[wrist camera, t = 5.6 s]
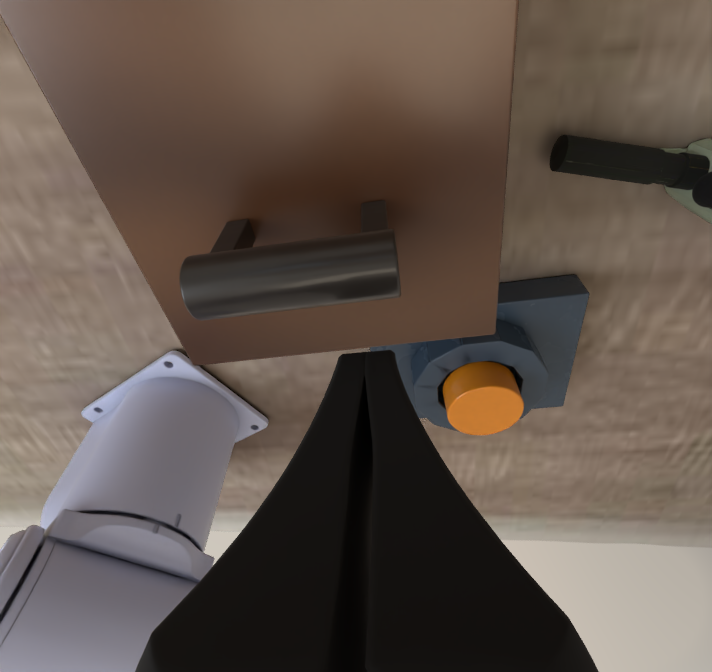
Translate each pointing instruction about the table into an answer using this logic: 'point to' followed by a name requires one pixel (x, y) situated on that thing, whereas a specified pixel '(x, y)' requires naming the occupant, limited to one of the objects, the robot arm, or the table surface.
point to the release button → (482, 398)
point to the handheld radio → (643, 167)
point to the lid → (292, 160)
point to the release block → (505, 347)
